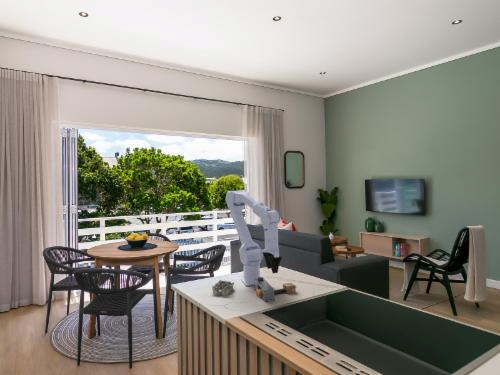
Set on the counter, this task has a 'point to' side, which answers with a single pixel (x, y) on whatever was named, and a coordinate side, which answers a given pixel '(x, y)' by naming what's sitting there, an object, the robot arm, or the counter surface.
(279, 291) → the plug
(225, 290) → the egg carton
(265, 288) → the motor housing
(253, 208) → the robot arm
